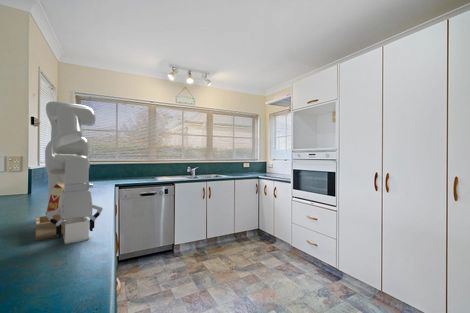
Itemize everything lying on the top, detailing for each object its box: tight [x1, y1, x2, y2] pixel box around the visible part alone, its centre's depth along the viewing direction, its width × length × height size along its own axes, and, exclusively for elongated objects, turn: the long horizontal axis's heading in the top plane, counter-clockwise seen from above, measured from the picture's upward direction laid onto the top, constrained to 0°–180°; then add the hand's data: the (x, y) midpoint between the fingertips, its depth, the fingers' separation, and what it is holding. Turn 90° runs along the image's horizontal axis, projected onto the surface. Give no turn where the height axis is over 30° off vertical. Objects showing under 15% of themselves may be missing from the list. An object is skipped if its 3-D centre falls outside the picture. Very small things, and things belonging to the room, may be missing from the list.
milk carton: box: [45, 181, 64, 215], centre depth 103 cm, size 9×9×20 cm
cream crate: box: [62, 217, 90, 245], centre depth 84 cm, size 9×7×7 cm
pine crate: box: [35, 214, 64, 242], centre depth 91 cm, size 14×15×6 cm
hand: (75, 233), depth 84 cm, fingers open, 9 cm apart
